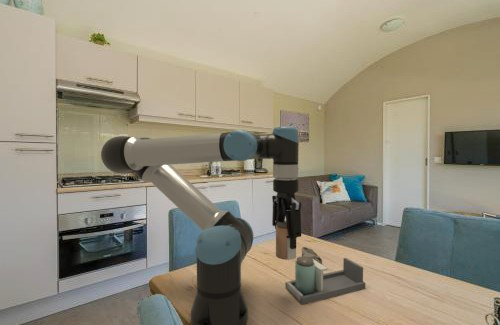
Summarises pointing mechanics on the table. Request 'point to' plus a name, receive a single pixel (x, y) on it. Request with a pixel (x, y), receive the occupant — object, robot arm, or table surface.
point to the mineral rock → (311, 254)
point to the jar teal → (305, 275)
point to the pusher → (319, 276)
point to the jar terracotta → (281, 240)
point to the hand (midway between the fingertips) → (285, 254)
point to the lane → (333, 283)
